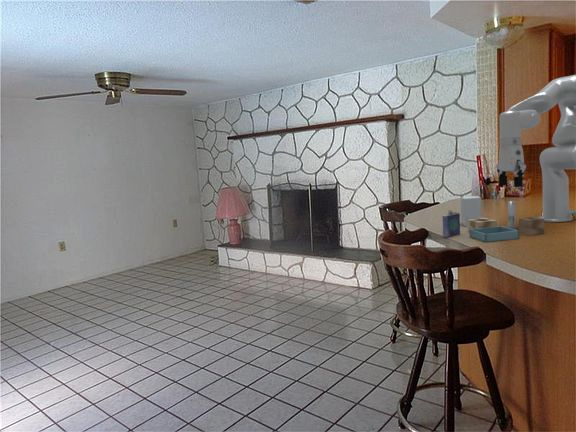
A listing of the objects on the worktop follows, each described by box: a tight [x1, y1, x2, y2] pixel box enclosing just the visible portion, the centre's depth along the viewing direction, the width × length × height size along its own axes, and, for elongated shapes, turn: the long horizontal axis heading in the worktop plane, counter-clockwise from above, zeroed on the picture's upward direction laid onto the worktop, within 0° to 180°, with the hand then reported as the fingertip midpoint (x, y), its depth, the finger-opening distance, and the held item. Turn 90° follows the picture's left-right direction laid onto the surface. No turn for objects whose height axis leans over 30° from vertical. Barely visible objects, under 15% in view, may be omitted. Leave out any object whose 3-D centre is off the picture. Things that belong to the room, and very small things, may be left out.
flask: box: [441, 209, 461, 238], centre depth 170 cm, size 9×3×11 cm, turn 121°
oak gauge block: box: [467, 217, 498, 232], centre depth 172 cm, size 8×8×5 cm
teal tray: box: [469, 225, 520, 243], centre depth 160 cm, size 13×11×3 cm
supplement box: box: [460, 195, 483, 227], centre depth 189 cm, size 7×7×13 cm
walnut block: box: [518, 216, 545, 237], centre depth 162 cm, size 6×6×6 cm
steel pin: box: [507, 200, 517, 230], centre depth 170 cm, size 3×3×12 cm
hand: (510, 186), depth 168 cm, fingers open, 9 cm apart
